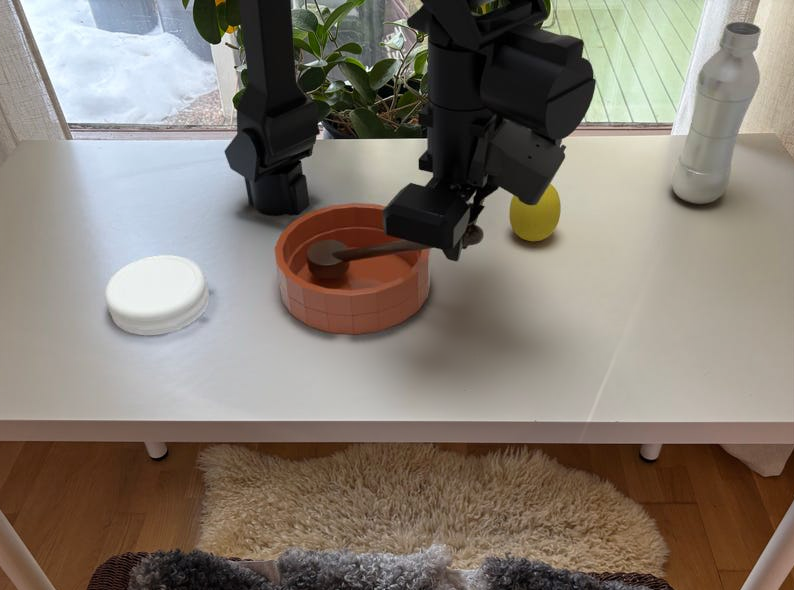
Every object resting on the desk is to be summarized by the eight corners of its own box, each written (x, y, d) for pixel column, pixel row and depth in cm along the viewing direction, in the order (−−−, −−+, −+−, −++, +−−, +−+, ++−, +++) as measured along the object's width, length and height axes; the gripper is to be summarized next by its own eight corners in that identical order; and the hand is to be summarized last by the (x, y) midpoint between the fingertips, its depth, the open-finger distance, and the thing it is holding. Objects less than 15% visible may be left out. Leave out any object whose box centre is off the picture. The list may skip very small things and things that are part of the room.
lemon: (554, 258, 86) (563, 195, 80) (504, 253, 86) (510, 190, 81) (557, 229, 89) (566, 168, 84) (509, 225, 90) (515, 163, 85)
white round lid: (211, 273, 85) (204, 247, 82) (210, 333, 78) (204, 307, 75) (117, 285, 84) (108, 258, 81) (108, 347, 77) (98, 320, 74)
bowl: (253, 314, 80) (244, 269, 76) (328, 234, 90) (323, 190, 86) (389, 358, 75) (387, 312, 71) (452, 267, 85) (454, 223, 81)
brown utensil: (300, 272, 81) (290, 193, 74) (321, 249, 84) (313, 171, 77) (469, 322, 75) (474, 242, 68) (485, 296, 78) (492, 216, 71)
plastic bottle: (729, 190, 95) (783, 23, 81) (713, 217, 91) (766, 46, 77) (677, 175, 97) (720, 11, 83) (659, 201, 93) (701, 33, 79)
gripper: (519, 172, 53) (503, 338, 64) (594, 65, 65) (569, 221, 76) (375, 140, 57) (383, 303, 68) (471, 45, 69) (464, 196, 80)
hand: (457, 253), depth 73 cm, fingers closed on brown utensil, 2 cm apart
